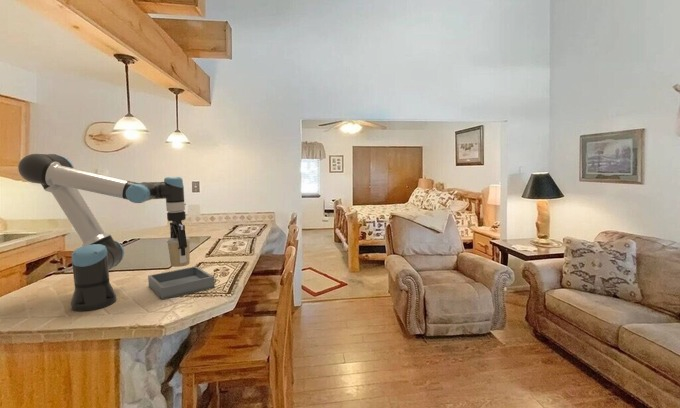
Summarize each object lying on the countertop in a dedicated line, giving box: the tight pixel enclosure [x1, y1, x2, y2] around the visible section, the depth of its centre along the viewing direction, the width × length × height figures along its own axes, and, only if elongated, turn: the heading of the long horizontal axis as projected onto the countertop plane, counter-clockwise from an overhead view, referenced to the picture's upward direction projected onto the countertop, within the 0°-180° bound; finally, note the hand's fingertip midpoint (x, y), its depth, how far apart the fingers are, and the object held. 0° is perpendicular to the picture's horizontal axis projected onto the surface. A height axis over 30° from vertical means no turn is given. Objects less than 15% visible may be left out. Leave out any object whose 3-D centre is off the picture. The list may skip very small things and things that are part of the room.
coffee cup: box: [167, 236, 191, 268], centre depth 164 cm, size 9×9×12 cm
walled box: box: [147, 265, 216, 301], centre depth 165 cm, size 22×23×5 cm
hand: (179, 260), depth 164 cm, fingers closed on coffee cup, 9 cm apart
